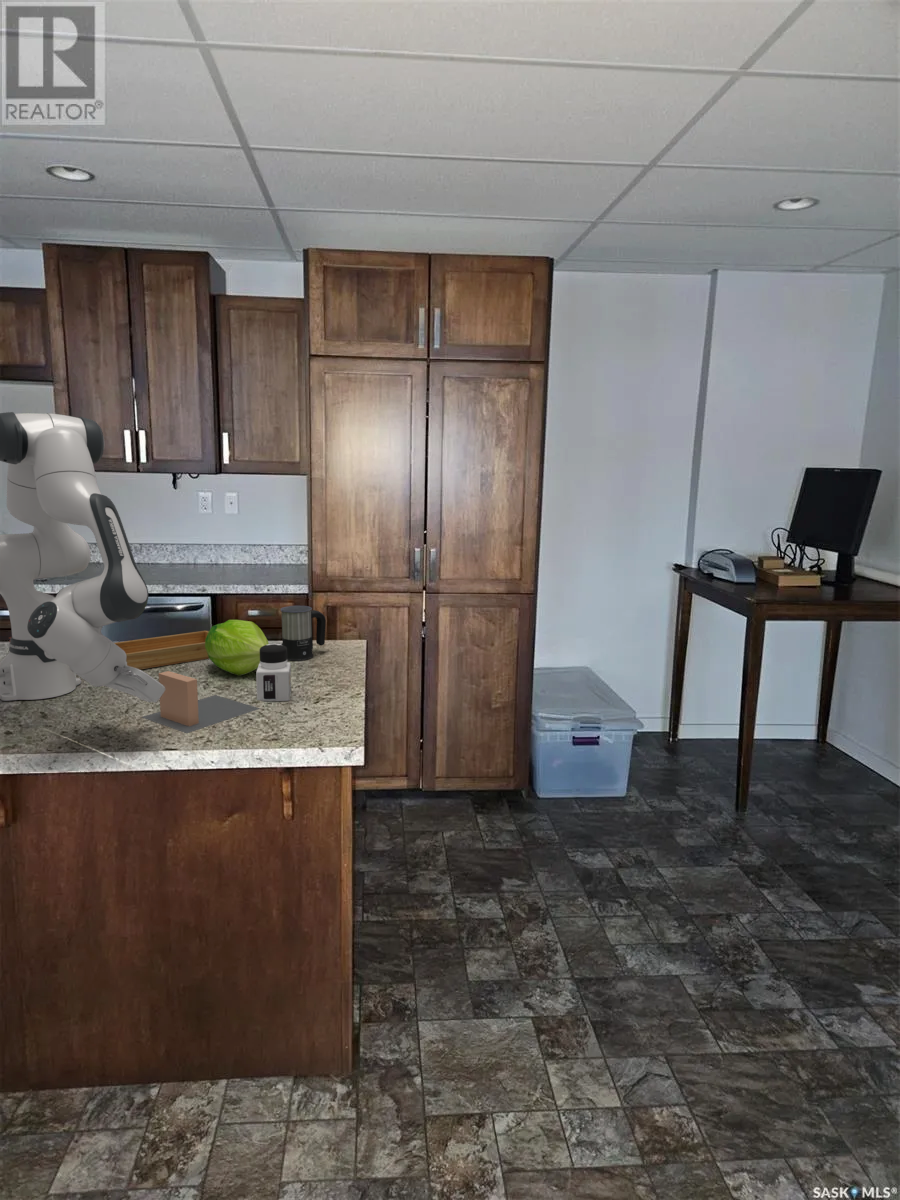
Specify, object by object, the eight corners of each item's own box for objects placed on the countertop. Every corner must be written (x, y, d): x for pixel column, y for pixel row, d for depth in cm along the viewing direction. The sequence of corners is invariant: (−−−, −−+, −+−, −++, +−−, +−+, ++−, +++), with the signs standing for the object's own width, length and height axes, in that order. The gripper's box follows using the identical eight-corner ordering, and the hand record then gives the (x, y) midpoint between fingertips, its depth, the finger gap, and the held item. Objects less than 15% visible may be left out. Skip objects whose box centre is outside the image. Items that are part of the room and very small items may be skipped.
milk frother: (297, 663, 211) (296, 612, 208) (258, 654, 219) (257, 605, 216) (330, 653, 222) (330, 605, 220) (293, 645, 231) (292, 599, 228)
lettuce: (291, 668, 202) (246, 688, 189) (236, 654, 214) (191, 673, 202) (284, 618, 197) (239, 636, 185) (229, 607, 210) (183, 623, 198)
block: (160, 716, 163) (158, 673, 161) (170, 713, 165) (168, 670, 164) (188, 726, 158) (187, 681, 156) (199, 723, 160) (197, 679, 158)
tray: (206, 646, 228) (206, 628, 227) (230, 656, 217) (229, 638, 216) (104, 663, 207) (102, 643, 206) (124, 675, 196) (123, 654, 195)
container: (289, 701, 177) (288, 649, 175) (256, 702, 176) (255, 650, 174) (291, 691, 185) (290, 641, 182) (259, 692, 184) (258, 642, 181)
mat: (141, 719, 163) (141, 717, 163) (215, 696, 179) (215, 695, 179) (187, 735, 154) (186, 733, 154) (260, 710, 170) (260, 708, 170)
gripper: (143, 659, 140) (188, 695, 150) (84, 642, 152) (130, 677, 161) (123, 687, 138) (170, 722, 147) (64, 667, 149) (112, 701, 159)
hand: (149, 698), depth 155 cm, fingers closed
